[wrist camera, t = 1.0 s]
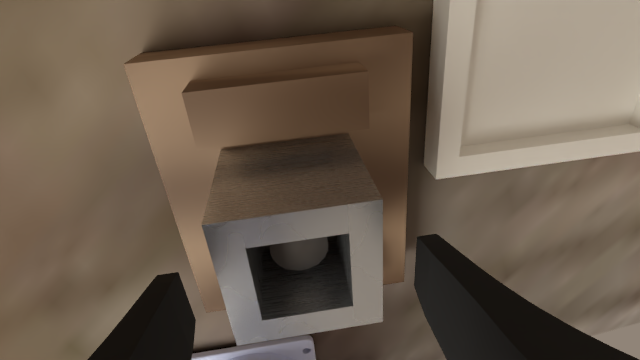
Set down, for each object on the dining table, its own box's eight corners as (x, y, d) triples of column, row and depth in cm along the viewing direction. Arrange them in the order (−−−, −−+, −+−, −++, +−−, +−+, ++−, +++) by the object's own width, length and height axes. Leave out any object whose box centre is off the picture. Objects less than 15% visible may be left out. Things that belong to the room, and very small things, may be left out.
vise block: (392, 270, 21) (428, 356, 17) (216, 298, 21) (201, 395, 16) (395, 25, 15) (457, 49, 10) (140, 53, 14) (78, 92, 9)
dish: (633, 136, 19) (660, 148, 18) (423, 164, 18) (435, 179, 17) (731, -143, 14) (781, -155, 12) (440, -119, 13) (460, -130, 12)
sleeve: (353, 234, 17) (382, 321, 13) (244, 250, 17) (237, 345, 13) (348, 133, 15) (382, 199, 10) (220, 149, 14) (201, 225, 10)
